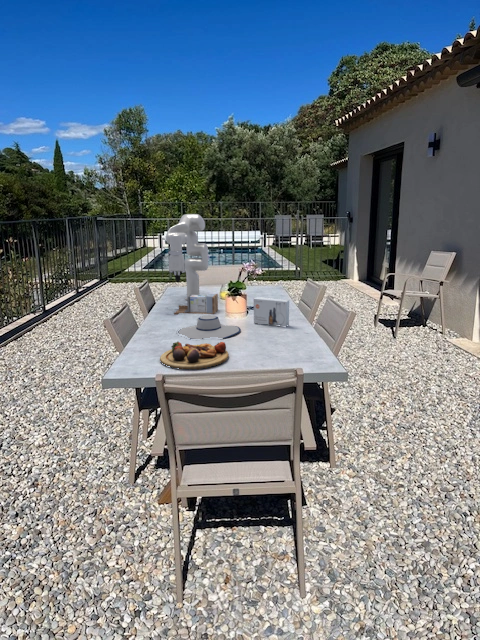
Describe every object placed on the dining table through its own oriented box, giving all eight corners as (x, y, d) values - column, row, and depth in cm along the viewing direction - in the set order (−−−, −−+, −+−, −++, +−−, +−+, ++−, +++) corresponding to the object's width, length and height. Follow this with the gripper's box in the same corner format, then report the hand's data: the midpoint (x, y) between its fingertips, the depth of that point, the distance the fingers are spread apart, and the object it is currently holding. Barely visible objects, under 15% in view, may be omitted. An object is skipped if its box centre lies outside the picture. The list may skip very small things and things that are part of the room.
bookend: (187, 309, 304) (187, 294, 302) (193, 309, 304) (192, 294, 301) (184, 312, 296) (183, 297, 293) (189, 312, 295) (189, 297, 292)
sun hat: (250, 327, 265) (250, 312, 262) (224, 345, 233) (224, 328, 230) (195, 321, 278) (195, 307, 276) (164, 337, 246) (163, 321, 244)
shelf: (179, 310, 307) (178, 293, 304) (218, 311, 303) (217, 293, 300) (174, 314, 295) (173, 296, 292) (214, 315, 291) (213, 297, 288)
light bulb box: (207, 310, 301) (207, 294, 298) (205, 312, 294) (205, 296, 292) (192, 310, 302) (191, 294, 300) (190, 312, 296) (189, 296, 293)
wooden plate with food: (230, 348, 225) (230, 332, 223) (226, 370, 194) (225, 352, 192) (167, 349, 226) (166, 334, 224) (153, 371, 195) (151, 353, 194)
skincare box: (253, 324, 270) (253, 298, 266) (256, 322, 274) (256, 296, 270) (286, 328, 261) (286, 301, 257) (289, 325, 265) (289, 299, 261)
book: (209, 309, 303) (208, 294, 300) (215, 310, 302) (215, 294, 299) (206, 313, 294) (205, 296, 291) (213, 313, 293) (212, 296, 290)
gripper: (163, 254, 289) (165, 282, 294) (186, 254, 287) (187, 282, 292) (167, 252, 296) (168, 279, 301) (189, 252, 294) (190, 280, 299)
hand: (177, 281), depth 296 cm, fingers closed
